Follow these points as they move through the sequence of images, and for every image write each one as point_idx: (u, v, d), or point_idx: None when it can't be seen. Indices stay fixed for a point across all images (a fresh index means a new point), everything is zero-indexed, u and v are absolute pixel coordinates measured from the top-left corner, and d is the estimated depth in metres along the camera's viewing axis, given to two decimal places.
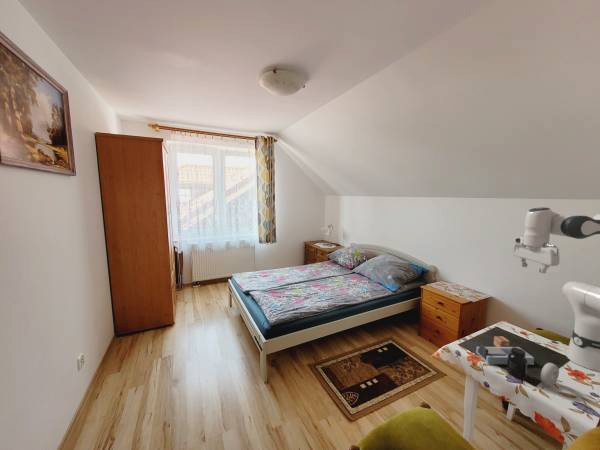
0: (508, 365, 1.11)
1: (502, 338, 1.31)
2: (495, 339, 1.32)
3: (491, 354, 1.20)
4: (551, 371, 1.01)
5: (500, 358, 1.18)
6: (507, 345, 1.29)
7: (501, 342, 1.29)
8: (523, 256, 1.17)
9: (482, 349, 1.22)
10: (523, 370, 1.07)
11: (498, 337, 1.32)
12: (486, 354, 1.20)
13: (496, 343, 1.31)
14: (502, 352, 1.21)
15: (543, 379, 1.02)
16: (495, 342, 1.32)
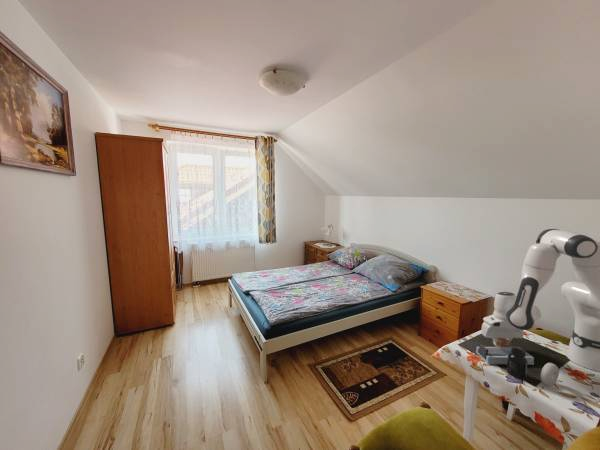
0: (508, 365, 1.11)
1: (502, 338, 1.31)
2: None
3: (491, 354, 1.20)
4: (551, 371, 1.01)
5: (500, 358, 1.18)
6: (507, 345, 1.29)
7: (501, 342, 1.29)
8: (497, 336, 1.29)
9: (482, 349, 1.22)
10: (523, 370, 1.07)
11: None
12: (486, 354, 1.20)
13: None
14: (502, 352, 1.21)
15: (543, 379, 1.02)
16: None
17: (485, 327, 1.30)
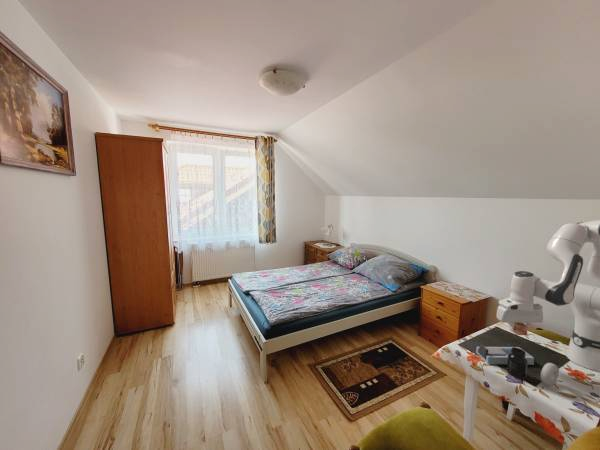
0: (508, 365, 1.11)
1: (519, 323, 1.20)
2: None
3: (491, 354, 1.20)
4: (551, 371, 1.01)
5: (500, 358, 1.18)
6: (525, 330, 1.17)
7: (519, 327, 1.17)
8: (515, 320, 1.18)
9: (482, 349, 1.22)
10: (523, 370, 1.07)
11: (515, 322, 1.21)
12: (486, 354, 1.20)
13: None
14: (502, 352, 1.21)
15: (543, 379, 1.02)
16: None
17: (501, 311, 1.19)
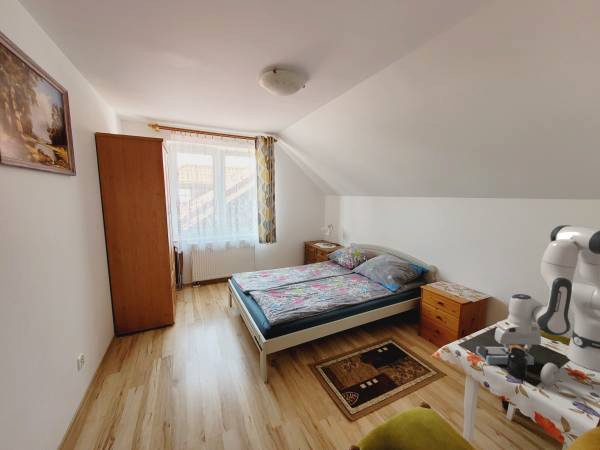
0: (508, 365, 1.11)
1: (517, 347, 1.21)
2: (510, 348, 1.22)
3: (491, 354, 1.20)
4: (551, 371, 1.01)
5: (500, 358, 1.18)
6: None
7: None
8: (513, 342, 1.19)
9: (482, 349, 1.22)
10: (523, 370, 1.07)
11: (513, 346, 1.22)
12: (486, 354, 1.20)
13: None
14: (502, 352, 1.21)
15: (543, 379, 1.02)
16: (510, 351, 1.22)
17: (499, 333, 1.20)
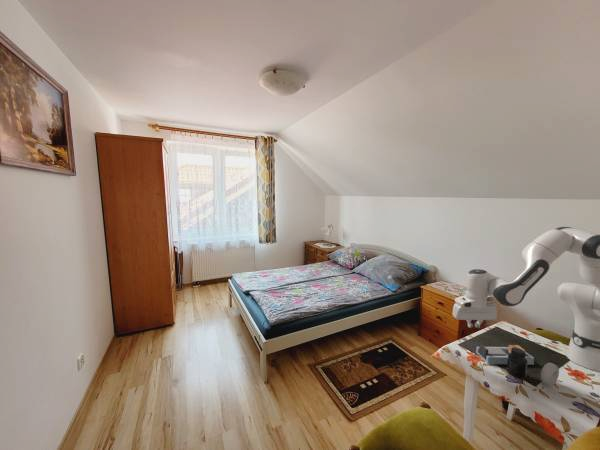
0: (508, 365, 1.11)
1: (517, 347, 1.21)
2: (510, 348, 1.22)
3: (491, 354, 1.20)
4: (551, 371, 1.01)
5: (500, 358, 1.18)
6: None
7: None
8: (469, 318, 1.18)
9: (482, 349, 1.22)
10: (523, 370, 1.07)
11: (513, 346, 1.22)
12: (486, 354, 1.20)
13: None
14: (502, 352, 1.21)
15: (543, 379, 1.02)
16: (510, 351, 1.22)
17: (456, 308, 1.20)
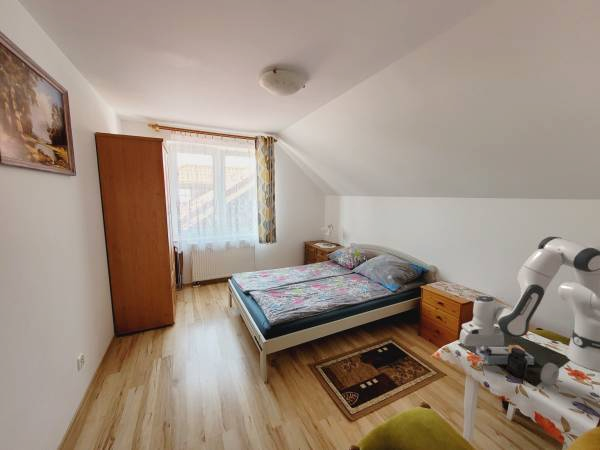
0: (508, 365, 1.11)
1: (517, 347, 1.21)
2: (510, 348, 1.22)
3: (494, 354, 1.20)
4: (551, 371, 1.01)
5: (500, 358, 1.18)
6: None
7: None
8: (476, 344, 1.20)
9: None
10: (523, 370, 1.07)
11: (513, 346, 1.22)
12: (490, 354, 1.20)
13: None
14: (505, 352, 1.20)
15: (543, 379, 1.02)
16: (510, 351, 1.22)
17: (463, 334, 1.21)
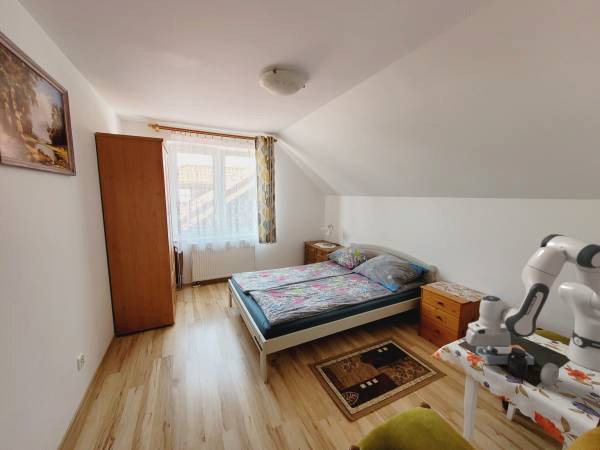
0: (508, 365, 1.11)
1: (517, 347, 1.21)
2: (510, 348, 1.22)
3: (500, 354, 1.19)
4: (551, 371, 1.01)
5: (500, 358, 1.18)
6: None
7: None
8: (483, 344, 1.20)
9: None
10: (523, 370, 1.07)
11: (513, 346, 1.22)
12: (496, 354, 1.20)
13: None
14: None
15: (543, 379, 1.02)
16: None
17: (470, 334, 1.21)
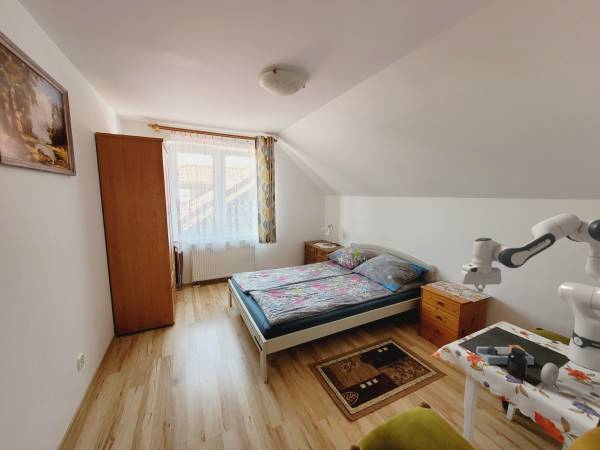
0: (508, 365, 1.11)
1: (517, 347, 1.21)
2: (510, 348, 1.22)
3: (500, 354, 1.19)
4: (551, 371, 1.01)
5: (500, 358, 1.18)
6: None
7: None
8: (475, 282, 1.28)
9: (491, 349, 1.22)
10: (523, 370, 1.07)
11: (513, 346, 1.22)
12: (496, 354, 1.20)
13: None
14: None
15: (543, 379, 1.02)
16: None
17: (463, 274, 1.29)
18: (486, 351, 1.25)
